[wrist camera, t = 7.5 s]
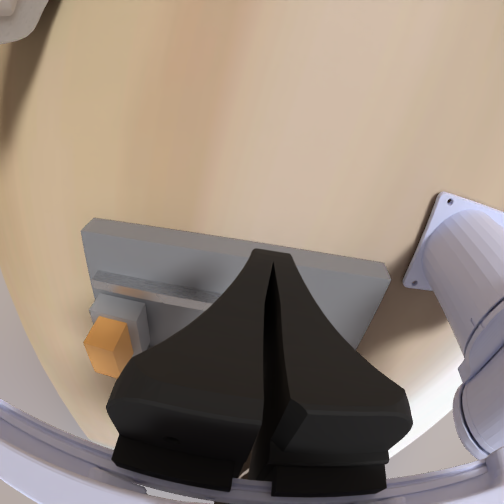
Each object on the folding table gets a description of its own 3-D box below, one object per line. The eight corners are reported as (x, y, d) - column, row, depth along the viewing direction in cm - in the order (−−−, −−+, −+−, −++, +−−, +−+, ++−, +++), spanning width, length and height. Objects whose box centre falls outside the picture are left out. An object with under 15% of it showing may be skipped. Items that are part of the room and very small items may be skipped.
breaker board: (384, 262, 22) (395, 290, 19) (327, 380, 30) (329, 405, 27) (93, 217, 22) (72, 239, 19) (119, 345, 30) (108, 368, 27)
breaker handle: (145, 303, 22) (122, 350, 18) (150, 340, 25) (132, 385, 21) (99, 292, 22) (72, 336, 18) (109, 330, 25) (87, 371, 21)
